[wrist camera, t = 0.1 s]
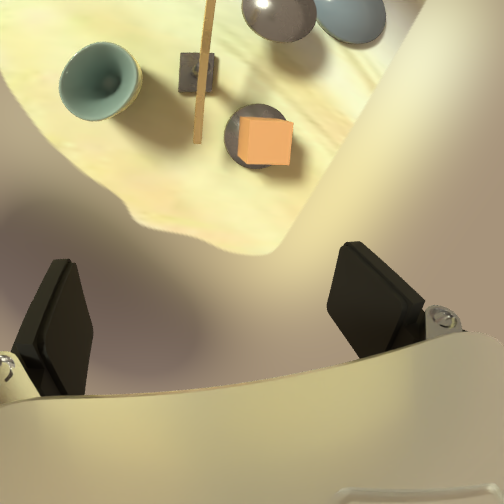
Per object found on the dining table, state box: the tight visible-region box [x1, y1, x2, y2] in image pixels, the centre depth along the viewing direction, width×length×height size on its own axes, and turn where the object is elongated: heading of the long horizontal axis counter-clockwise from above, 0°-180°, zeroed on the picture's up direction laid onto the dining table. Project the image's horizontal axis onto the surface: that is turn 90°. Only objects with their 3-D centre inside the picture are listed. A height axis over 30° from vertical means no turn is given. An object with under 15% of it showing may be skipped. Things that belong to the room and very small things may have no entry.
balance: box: [178, 0, 317, 169], centre depth 29 cm, size 24×14×11 cm, turn 176°
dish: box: [314, 0, 386, 44], centre depth 31 cm, size 12×12×1 cm
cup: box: [59, 42, 143, 121], centre depth 27 cm, size 8×8×10 cm
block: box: [237, 117, 293, 165], centre depth 35 cm, size 5×5×5 cm
